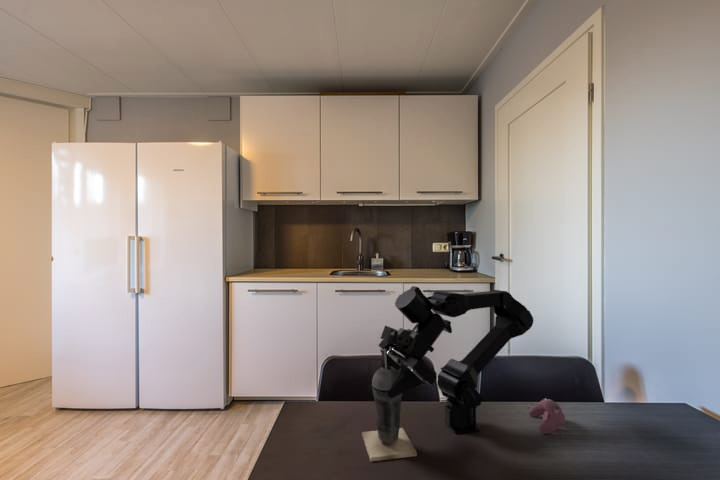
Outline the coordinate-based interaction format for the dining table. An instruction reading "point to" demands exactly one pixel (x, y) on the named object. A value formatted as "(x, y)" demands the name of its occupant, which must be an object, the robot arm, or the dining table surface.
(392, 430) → the beverage cup
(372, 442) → the coaster board
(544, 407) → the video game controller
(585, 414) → the dining table surface
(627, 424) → the dining table surface
